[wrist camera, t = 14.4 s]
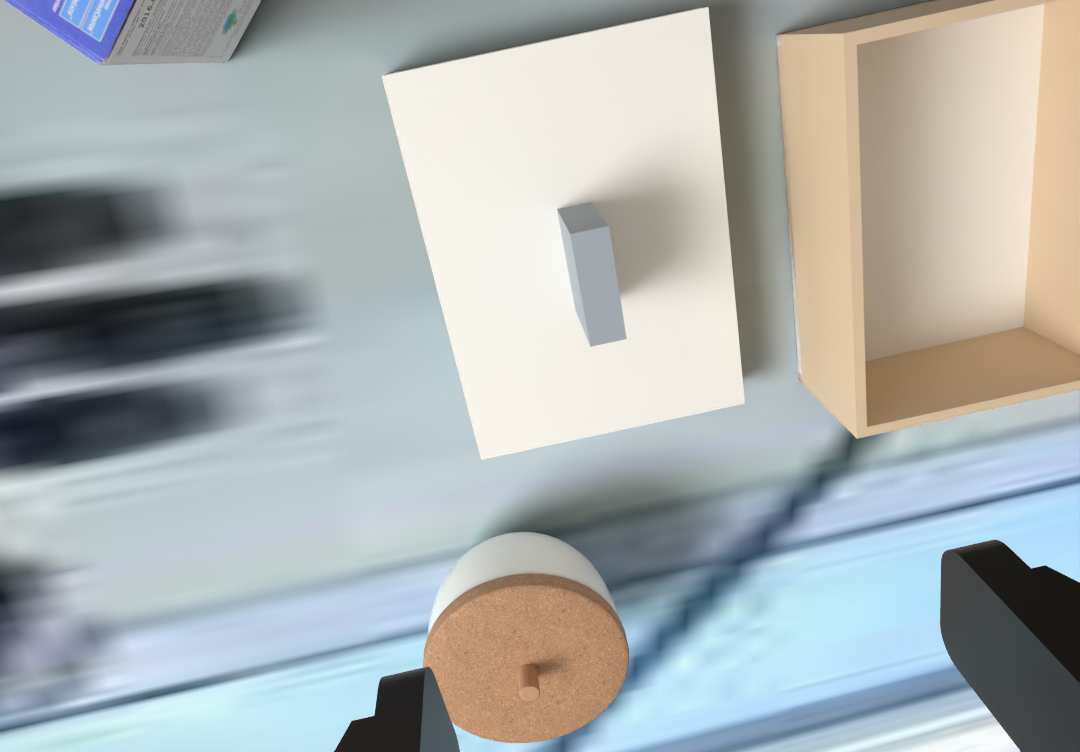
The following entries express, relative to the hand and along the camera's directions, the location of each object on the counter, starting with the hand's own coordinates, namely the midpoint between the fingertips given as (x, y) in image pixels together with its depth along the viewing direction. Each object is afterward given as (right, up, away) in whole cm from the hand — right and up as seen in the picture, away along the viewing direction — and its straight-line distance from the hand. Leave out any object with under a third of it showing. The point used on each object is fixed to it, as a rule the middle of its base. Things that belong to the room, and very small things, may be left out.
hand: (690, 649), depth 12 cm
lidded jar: (-4, -8, +35) cm, 36 cm away
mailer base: (+17, +13, +28) cm, 35 cm away
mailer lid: (-1, +11, +27) cm, 29 cm away
